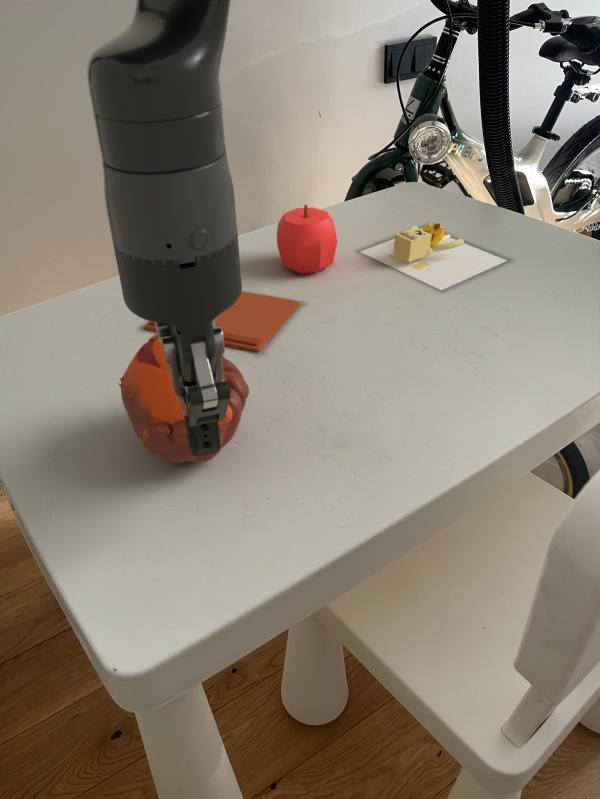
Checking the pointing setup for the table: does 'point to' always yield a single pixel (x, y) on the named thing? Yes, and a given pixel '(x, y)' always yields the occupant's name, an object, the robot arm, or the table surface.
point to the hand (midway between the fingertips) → (204, 448)
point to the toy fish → (171, 405)
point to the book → (251, 320)
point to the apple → (306, 239)
